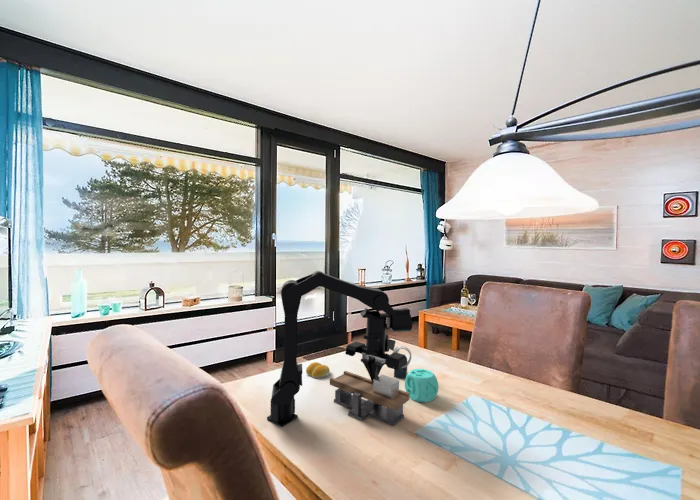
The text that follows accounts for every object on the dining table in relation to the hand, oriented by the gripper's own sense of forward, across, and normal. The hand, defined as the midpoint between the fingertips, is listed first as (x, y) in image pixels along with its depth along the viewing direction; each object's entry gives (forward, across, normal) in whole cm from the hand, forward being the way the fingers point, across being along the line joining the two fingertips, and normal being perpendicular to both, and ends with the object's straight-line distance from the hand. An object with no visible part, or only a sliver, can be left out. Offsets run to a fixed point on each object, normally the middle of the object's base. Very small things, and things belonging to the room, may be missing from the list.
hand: (374, 382), depth 105 cm
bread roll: (+10, +32, -10) cm, 35 cm away
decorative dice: (+9, -7, -18) cm, 21 cm away
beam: (+3, +2, 0) cm, 4 cm away
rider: (+2, -4, 0) cm, 5 cm away
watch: (+9, +7, -29) cm, 31 cm away
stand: (+9, +2, 0) cm, 9 cm away
